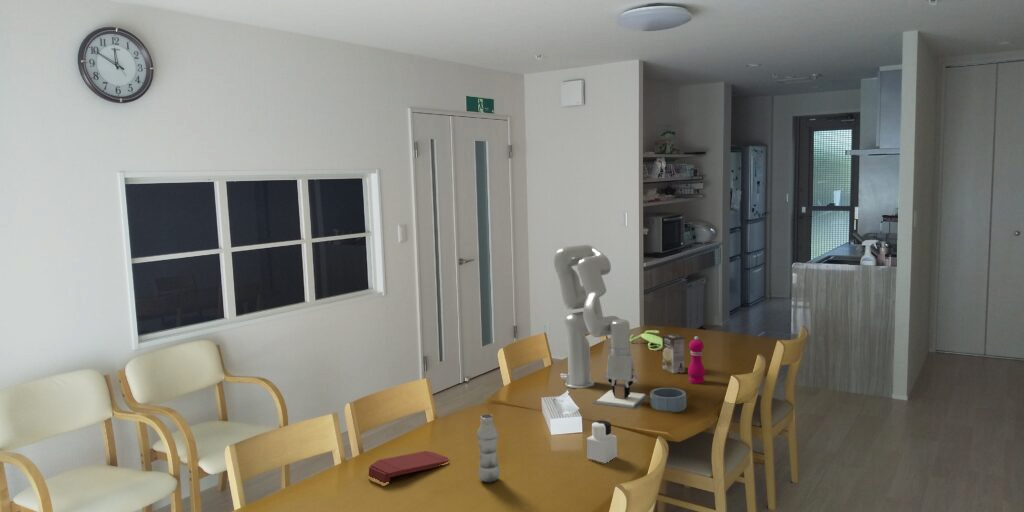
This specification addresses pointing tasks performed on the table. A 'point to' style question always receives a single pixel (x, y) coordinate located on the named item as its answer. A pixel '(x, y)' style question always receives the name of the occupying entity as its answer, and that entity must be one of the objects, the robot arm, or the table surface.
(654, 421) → the table surface
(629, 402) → the cover
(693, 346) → the pepper mill
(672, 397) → the bowl
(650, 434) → the table surface
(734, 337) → the table surface
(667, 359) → the coffee box
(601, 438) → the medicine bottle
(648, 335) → the figurine
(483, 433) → the plastic bottle
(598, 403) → the mat
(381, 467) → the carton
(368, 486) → the table surface
